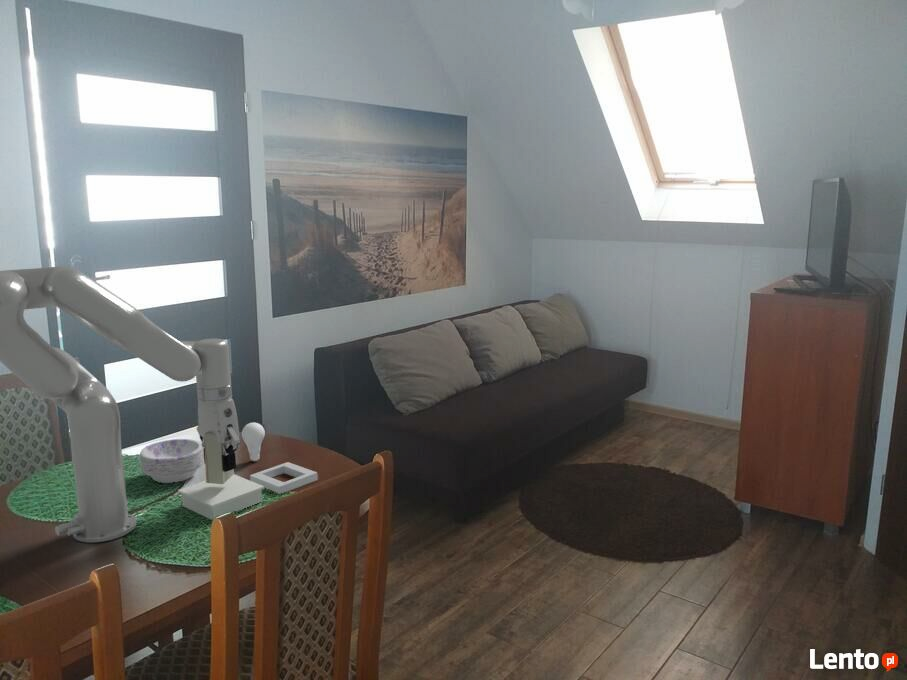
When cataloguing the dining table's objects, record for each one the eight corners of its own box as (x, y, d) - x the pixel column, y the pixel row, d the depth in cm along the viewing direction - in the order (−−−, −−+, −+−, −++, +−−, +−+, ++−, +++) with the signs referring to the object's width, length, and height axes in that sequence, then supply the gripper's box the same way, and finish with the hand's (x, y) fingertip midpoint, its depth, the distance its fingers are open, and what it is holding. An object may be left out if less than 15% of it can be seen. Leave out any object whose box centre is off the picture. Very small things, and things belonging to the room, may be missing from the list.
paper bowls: (163, 493, 177) (160, 462, 176) (130, 479, 186) (128, 449, 185) (216, 474, 189) (214, 445, 188) (183, 462, 198) (181, 434, 197)
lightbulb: (255, 455, 203) (253, 418, 200) (271, 459, 200) (268, 421, 197) (238, 462, 197) (236, 424, 195) (254, 466, 194) (252, 427, 192)
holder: (279, 494, 176) (279, 486, 176) (250, 482, 183) (249, 475, 183) (317, 479, 185) (317, 472, 185) (288, 469, 193) (287, 462, 192)
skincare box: (217, 473, 173) (214, 425, 170) (235, 474, 172) (232, 426, 170) (205, 483, 167) (202, 434, 164) (223, 485, 166) (221, 435, 164)
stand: (213, 522, 161) (211, 505, 160) (179, 505, 170) (178, 489, 169) (265, 502, 172) (264, 486, 171) (230, 487, 180) (230, 472, 179)
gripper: (251, 395, 163) (256, 470, 166) (208, 383, 174) (213, 453, 177) (222, 402, 157) (227, 479, 161) (179, 390, 168) (185, 462, 171)
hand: (220, 465), depth 169 cm, fingers closed on skincare box, 6 cm apart
